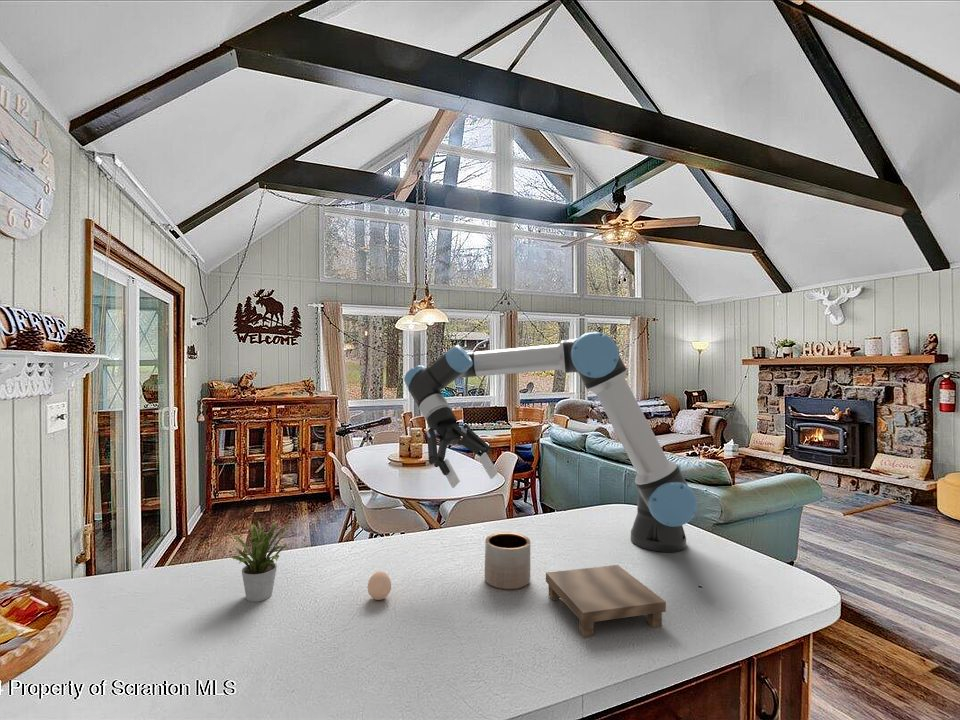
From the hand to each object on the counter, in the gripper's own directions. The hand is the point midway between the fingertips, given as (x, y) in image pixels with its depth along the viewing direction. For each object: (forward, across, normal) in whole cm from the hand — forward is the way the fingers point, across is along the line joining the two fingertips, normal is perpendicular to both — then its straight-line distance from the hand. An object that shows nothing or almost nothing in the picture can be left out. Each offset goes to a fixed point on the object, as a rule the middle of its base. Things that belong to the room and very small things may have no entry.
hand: (476, 480), depth 127 cm
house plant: (+1, +44, -30) cm, 53 cm away
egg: (+14, +27, -17) cm, 35 cm away
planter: (+23, 0, -8) cm, 25 cm away
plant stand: (+39, -4, +9) cm, 40 cm away
